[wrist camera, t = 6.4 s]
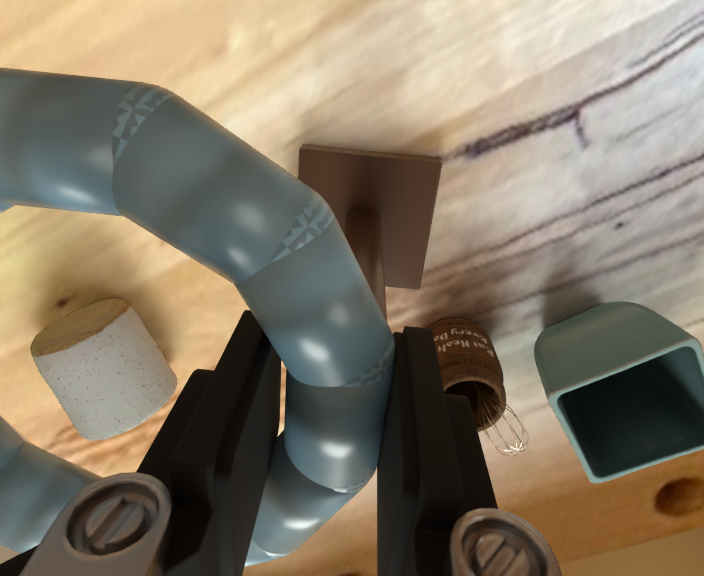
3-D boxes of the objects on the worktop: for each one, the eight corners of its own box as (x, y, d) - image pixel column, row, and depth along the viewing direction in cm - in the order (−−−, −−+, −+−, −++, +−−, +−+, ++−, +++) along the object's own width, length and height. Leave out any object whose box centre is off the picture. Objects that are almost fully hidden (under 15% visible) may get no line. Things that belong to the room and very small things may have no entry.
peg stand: (296, 268, 35) (253, 398, 22) (302, 144, 31) (253, 214, 18) (417, 280, 35) (444, 417, 22) (439, 158, 31) (488, 238, 18)
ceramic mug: (141, 281, 36) (85, 337, 29) (192, 365, 39) (153, 432, 32) (29, 317, 38) (-48, 377, 31) (87, 394, 41) (29, 463, 34)
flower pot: (507, 320, 36) (545, 397, 28) (622, 268, 34) (699, 336, 26) (548, 398, 40) (593, 487, 32) (656, 355, 37) (734, 440, 29)
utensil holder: (492, 371, 38) (539, 495, 28) (416, 381, 39) (432, 506, 29) (487, 309, 36) (537, 419, 25) (405, 321, 37) (420, 434, 26)
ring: (-46, 497, 13) (-116, 571, 11) (-242, 35, 8) (-430, 31, 6) (360, 540, 13) (357, 621, 11) (428, 106, 8) (444, 123, 6)
